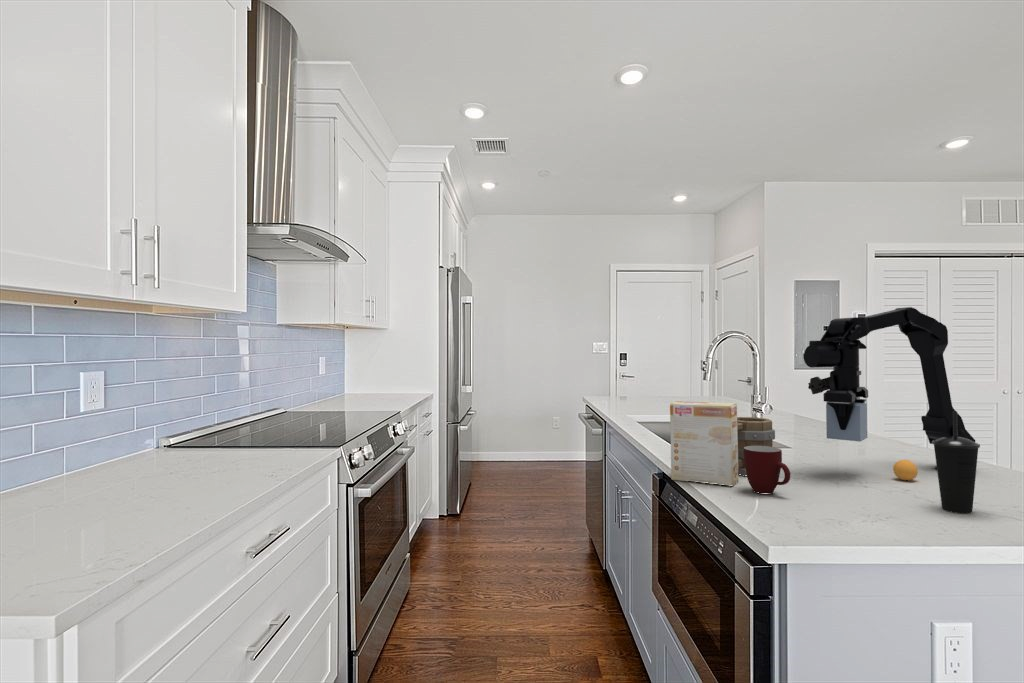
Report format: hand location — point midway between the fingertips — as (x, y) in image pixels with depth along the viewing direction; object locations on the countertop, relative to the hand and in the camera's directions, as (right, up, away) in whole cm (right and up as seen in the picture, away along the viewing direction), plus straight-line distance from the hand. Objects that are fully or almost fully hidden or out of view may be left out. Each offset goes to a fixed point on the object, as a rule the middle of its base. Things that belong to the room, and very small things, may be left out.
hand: (847, 428), depth 144 cm
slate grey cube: (0, -3, 0) cm, 3 cm away
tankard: (-25, -13, +5) cm, 28 cm away
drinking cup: (+5, -12, -30) cm, 32 cm away
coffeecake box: (-37, -13, -3) cm, 40 cm away
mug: (-27, -13, -15) cm, 33 cm away
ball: (+12, -10, -5) cm, 16 cm away
